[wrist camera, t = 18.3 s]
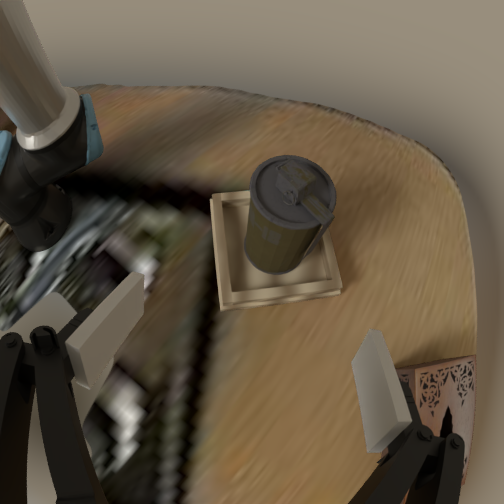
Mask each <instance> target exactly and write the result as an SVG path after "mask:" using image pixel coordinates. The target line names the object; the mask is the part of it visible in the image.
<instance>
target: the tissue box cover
mask: <svg viewBox="0 0 504 504" xmlns="http://www.w3.org/2000/svg"><path fill="white" fill-rule="evenodd" d="M395 370H396V373H397V376H398V378H399V381H404V382H406V383H407V385H408V386H409V387H410V389H411V391H412V394H413V398H414V400H415V404H416V406H417V409H418V412H419V415H420V418H421V421H422V424H423V425H425V426H428V427H429V428H430V429H431V430H432V432H433V434H434V436H438V437H442V438H446V437H447V436H448V435H449V434H451V433H457V434H458V435H460V436H461V437H462V438H463V440H464V442H465V453H464V465H463V474H462V482H461V486H462V485H464V483H465V479H466V474H467V469H468V464H469V458H470V452H471V445H472V438H473V428H474V418H475V403H476V355H470V356H463V357H456V358H449V359H442V360H437V361H432V362H428V363H422V364H417V365H412V366H406V367H400V368H395ZM387 453H388V447H386V448H385V449H384V450H383V451H382V456H381V458H383V457H384V456H385V455H386V454H387ZM409 489H410V488H409ZM408 492H409V490H408ZM408 492H407V494H406V495H405V497H404V499H403V500H402V502H401V503H400V504H405V502H406V498H407V495H408Z"/></svg>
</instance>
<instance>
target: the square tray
mask: <svg viewBox="0 0 504 504" xmlns="http://www.w3.org/2000/svg"><path fill="white" fill-rule="evenodd" d="M212 198H213V199H210V205H211V218H212V230H213V241H214V252H215V262H216V272H217V282H218V291H219V300H220V309H221V311H229V310H238V309H246V308H255V307H263V306H271V305H278V304H285V303H293V302H300V301H306V300H313V299H319V298H326V297H332V296H338V295H339V294H341V292H340V289H341V288H342V287H343V286H342V281H341V277H340V273H339V268H338V264H337V260H336V255H335V251H334V247H333V243H332V239H331V235H330V231H329V227H328V228H327V230H326V231H325V233H324V234H323V236H322V237H321V239H320V240H319V242H318V243H317V245H316V246H315V248H314V249H313V251H312V252H311V253H310V254H309V255H307V256H306V257H305V258H304V259H303V260H302V261H301V263H300V264H299V265H298V266H297V267H296V268H295V269H294V270H292V271H290V272H288V273H285V274H281V275H272V274H267V273H264V272H262V271H260V270H258V269H257V268H255V267H254V266H253V265H252V264H251V262H250V261H249V260H248V258H247V256H246V253H245V250H244V239H245V236H246V233H247V223H248V214H249V205H250V190H248V191H240V192H228V193H218V194H212ZM322 227H323V226H321V228H320V230H319V231H318V233H317V235H318V234H319V232H320V231H321V229H322ZM317 235H316V236H315V238H314V240H315V239H316V237H317ZM314 240H313V241H312V243H313V242H314ZM312 243H311V244H310V246H309V248H310V247H311V245H312ZM309 248H308V249H307V251H308V250H309ZM307 251H306V253H307ZM306 253H305V254H306ZM305 254H304V256H305Z"/></svg>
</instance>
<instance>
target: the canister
mask: <svg viewBox="0 0 504 504" xmlns="http://www.w3.org/2000/svg"><path fill="white" fill-rule="evenodd" d="M249 189H250V205H249V214H248V223H247V233H246V236H245V239H244V250H245V253H246V256H247V258H248V260H249V261H250V262H251V264H252V265H253V266H254V267H255V268H257V269H258V270H260V271H262V272H264V273H267V274H272V275H281V274H285V273H288V272H290V271H292V270H294V269H295V268H296V267H297V266H298V265H299V264H300V263H301V261H302V260H303V259H304V258H305V257H306V256H307V255H309V254H310V253H311V252H312V251H313V249H314V248H315V246H316V245H317V243H318V242H319V240H320V239H321V237H322V236H323V234H324V233H325V231H326V230H327V228H328V227H329V225H330V224H331V222H332V220H333V219H334V215H333V214H332V212H333V210H334V208H335V205H336V190H335V187H334V184H333V182H332V180H331V178H330V176H329V175H328V174H327V173H326V172H325V171H324V170H323V169H322V168H321V167H320V166H319V165H317V164H316V163H314V162H312V161H310V160H308V159H305V158H303V157H299V156H293V155H283V156H276V157H273V158H270V159H268V160H266V161H265V162H263V163H262V164H260V165H259V166H258V167H257V169H256V170H255V171H254V173H253V175H252V177H251V180H250V188H249ZM321 226H323V227H322V229H321V231H320V232H319V234H318V235H317V233H318V231H319V230H320V228H321ZM316 235H317V237H316V239H315V240H314V238H315V236H316ZM313 240H314V242H313V243H312V241H313ZM311 243H312V245H311V247H310V248H309V246H310V244H311ZM308 248H309V250H308V251H307V249H308ZM306 251H307V253H306ZM305 253H306V254H305ZM304 254H305V256H304Z"/></svg>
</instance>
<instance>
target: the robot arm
mask: <svg viewBox="0 0 504 504" xmlns="http://www.w3.org/2000/svg"><path fill="white" fill-rule="evenodd" d="M0 107H1V108H2V109H3V111H4V112H5V113H6V114H7V115H8V117H9V118H10V119H11V120H12V121H13V122H14V124H15V125H16V126H17V131H16V134H15V135H13V136H12V134H11V132H8V131H7V130H4V131H0V217H1V218H2V219H3V220H4V221H6V222H7V223H8V224H9V225H10V226H11V228H12V229H13V231H14V233H15V234H16V237H17V239H18V241H19V242H20V243H21V244H22V245H23V246H24V247H25V248H27V249H28V250H30V251H33V252H40V251H43V250H46V249H48V248H50V247H51V246H52V245H54V244H55V243H56V242H57V241H58V240H59V239H60V237H61V236H62V235H63V233H64V232H65V230H66V228H67V226H68V224H69V221H70V218H71V213H72V203H71V200H70V197H69V196H68V194H67V193H66V192H65V191H64V189H63V188H61V187H60V186H58V185H56V184H54V183H53V182H55V181H57V180H58V179H60V178H62V177H64V176H66V175H68V174H69V173H71V172H73V171H75V170H77V169H79V168H81V167H83V166H86V165H88V164H89V162H91V161H93V160H95V159H97V158H98V157H100V156H101V155H102V153H103V148H104V147H103V143H102V139H101V135H100V132H99V128H98V124H97V120H96V116H95V112H94V108H93V104H92V99H91V96H90V94H82V95H80V96H79V95H78V93H77V92H76V91H75V90H74V89H72V88H70V87H62V85H61V83H60V81H59V79H58V77H57V75H56V73H55V71H54V69H53V68H52V65H51V63H50V61H49V59H48V57H47V55H46V53H45V51H44V49H43V47H42V44H41V43H40V40H39V38H38V36H37V34H36V31H35V29H34V27H33V25H32V22H31V20H30V17H29V15H28V13H27V10H26V8H25V5H24V3H23V0H0ZM143 314H144V275H143V274H140V273H136V272H132V273H131V274H130V275H129V276H128V277H126V278H125V279H124V280H123V281H122V282H121V283H120V284H119V285H118V286H117V287H116V288H115V289H114V290H113V292H112V293H111V294H110V295H109V296H108V297H107V298H106V299H105V300H104V301H103V302H102V303H101V304H100V305H99V306H98V307H97V308H96V309H95V310H92V309H89V308H86V309H84V310H82V311H80V312H78V313H77V314H76V315H75V316H74V317H73V319H71V320H70V321H69V323H68V324H67V325H66V326H65V327H64V328H63V329H62V330H61V331H60V332H59V333H58V334H56V332H55V330H54V329H53V328H52V327H49V326H39V327H37V328H35V329H33V331H32V332H31V333H30V340H31V343H32V344H29V343H25V342H23V340H22V337H21V336H20V335H19V334H18V333H14V332H10V333H7V334H5V335H4V336H3V337H2V338H1V340H0V504H27V453H28V438H29V428H30V420H31V412H32V406H33V399H34V393H35V388H36V393H37V403H38V412H39V419H40V426H41V432H42V437H43V443H44V448H45V452H46V456H47V461H48V466H49V470H50V473H51V477H52V481H53V484H54V488H55V490H56V494H57V500H56V504H108V502H107V500H106V498H105V495H104V493H103V490H102V488H101V485H100V483H99V480H98V478H97V475H96V472H95V469H94V467H93V464H92V461H91V458H90V455H89V452H88V449H87V445H86V442H85V438H84V435H83V431H82V427H81V424H80V420H79V416H78V411H77V407H76V403H75V398H74V393H73V388H72V384H71V380H72V379H73V377H74V376H75V378H76V381H77V384H79V385H81V386H83V387H85V388H88V389H89V390H90V389H91V388H92V386H93V385H94V383H95V382H96V380H97V379H98V377H99V376H100V374H101V373H102V371H103V370H104V369H105V367H106V366H107V364H108V363H109V361H110V360H111V358H112V357H113V356H114V354H115V353H116V351H117V350H118V348H119V347H120V346H121V344H122V343H123V341H124V340H125V339H126V337H127V336H128V334H129V333H130V332H131V330H132V329H133V327H134V326H135V325H136V323H137V322H138V321H139V319H140V318H141V316H142V315H143ZM351 363H352V368H353V373H354V378H355V383H356V388H357V393H358V399H359V404H360V410H361V416H362V421H363V427H364V434H365V440H366V447H367V453H379V452H382V451H383V450H384V449H385V448H386V447H388V453H387V454H386V455H385V456H384V457H383V458H381V459H380V460H379V461H378V462H377V463H378V464H379V465H378V466H377V468H376V469H375V470H374V472H373V473H372V474H371V476H370V477H369V478H368V480H367V481H366V482H365V483H364V485H363V486H362V487H361V488H360V490H359V491H358V492H357V493H356V495H355V496H354V497H353V498H352V499H351V501H350V502H349V503H348V504H400V503H401V502H402V500H403V499H404V497H405V495H406V494H407V492H408V490H409V492H408V495H407V498H406V502H405V504H458V501H459V495H460V488H461V482H462V474H463V465H464V453H465V442H464V440H463V438H462V437H461V436H460V435H458V434H457V433H451V434H449V435H448V436H447V437H446V438H442V437H438V436H434V434H433V432H432V430H431V429H430V428H429V427H428V426H425V425H423V424H422V421H421V418H420V415H419V412H418V409H417V406H416V404H415V400H414V398H413V394H412V391H411V389H410V387H409V386H408V385H407V383H406V382H404V381H399V378H398V376H397V373H396V370H395V367H394V364H393V361H392V359H391V356H390V353H389V351H388V348H387V345H386V343H385V340H384V337H383V335H382V332H381V331H380V330H375V329H369V331H368V333H367V335H366V337H365V339H364V340H363V342H362V344H361V346H360V348H359V350H358V351H357V353H356V355H355V357H354V359H353V360H352V362H351ZM409 488H410V489H409Z"/></svg>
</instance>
